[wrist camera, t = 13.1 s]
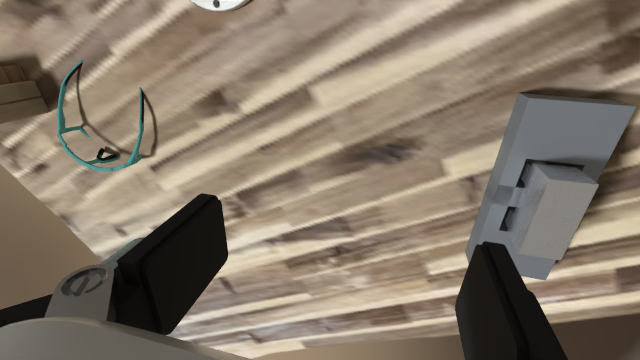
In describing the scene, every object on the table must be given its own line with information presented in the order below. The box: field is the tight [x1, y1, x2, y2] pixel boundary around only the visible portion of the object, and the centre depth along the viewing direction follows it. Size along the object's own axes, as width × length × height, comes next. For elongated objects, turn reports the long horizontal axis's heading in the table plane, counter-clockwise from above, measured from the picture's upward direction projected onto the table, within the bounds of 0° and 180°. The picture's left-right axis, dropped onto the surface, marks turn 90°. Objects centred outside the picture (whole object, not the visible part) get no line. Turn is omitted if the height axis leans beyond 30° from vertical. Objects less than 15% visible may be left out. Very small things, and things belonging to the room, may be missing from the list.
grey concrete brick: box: [503, 159, 599, 260], centre depth 33 cm, size 9×4×8 cm, turn 179°
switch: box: [465, 93, 637, 280], centre depth 34 cm, size 22×9×3 cm, turn 178°
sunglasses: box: [57, 60, 144, 171], centre depth 45 cm, size 14×15×5 cm
